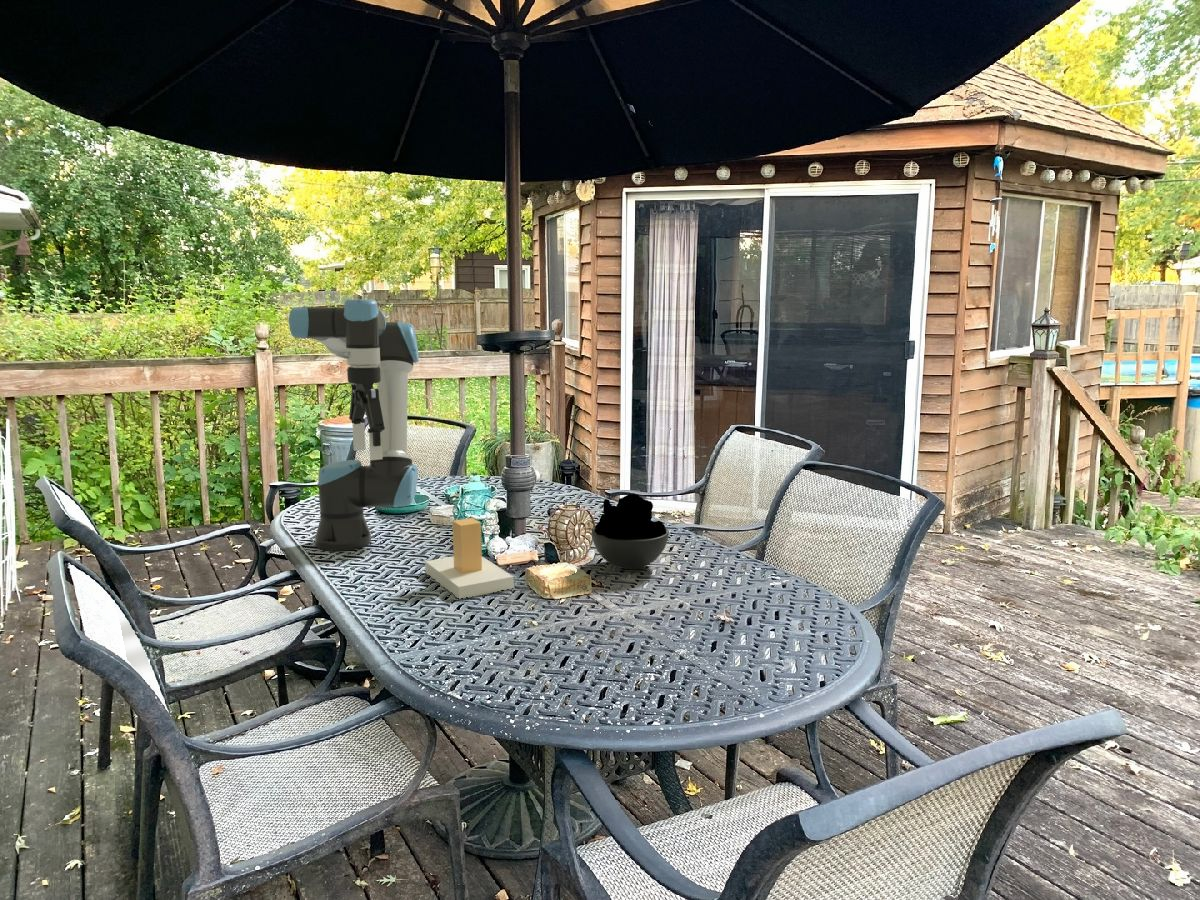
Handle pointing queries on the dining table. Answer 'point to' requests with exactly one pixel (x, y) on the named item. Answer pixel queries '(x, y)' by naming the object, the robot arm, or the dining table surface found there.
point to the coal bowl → (629, 533)
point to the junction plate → (469, 578)
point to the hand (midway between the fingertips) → (367, 454)
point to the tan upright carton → (467, 545)
